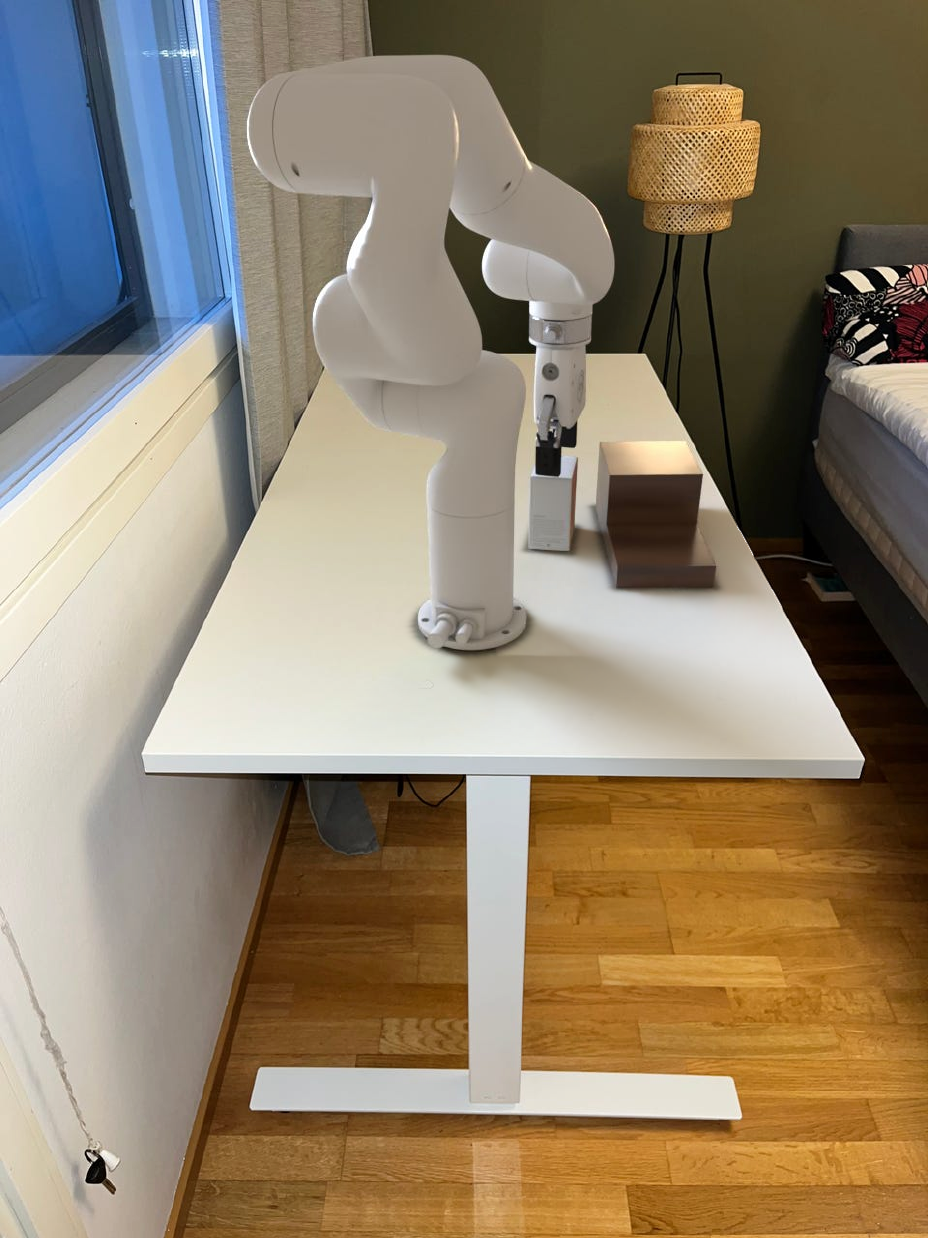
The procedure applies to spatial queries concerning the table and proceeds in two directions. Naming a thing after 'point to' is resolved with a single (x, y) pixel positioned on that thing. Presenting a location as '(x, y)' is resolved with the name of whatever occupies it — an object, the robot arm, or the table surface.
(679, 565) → the step shelf
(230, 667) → the table surface
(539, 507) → the small box
